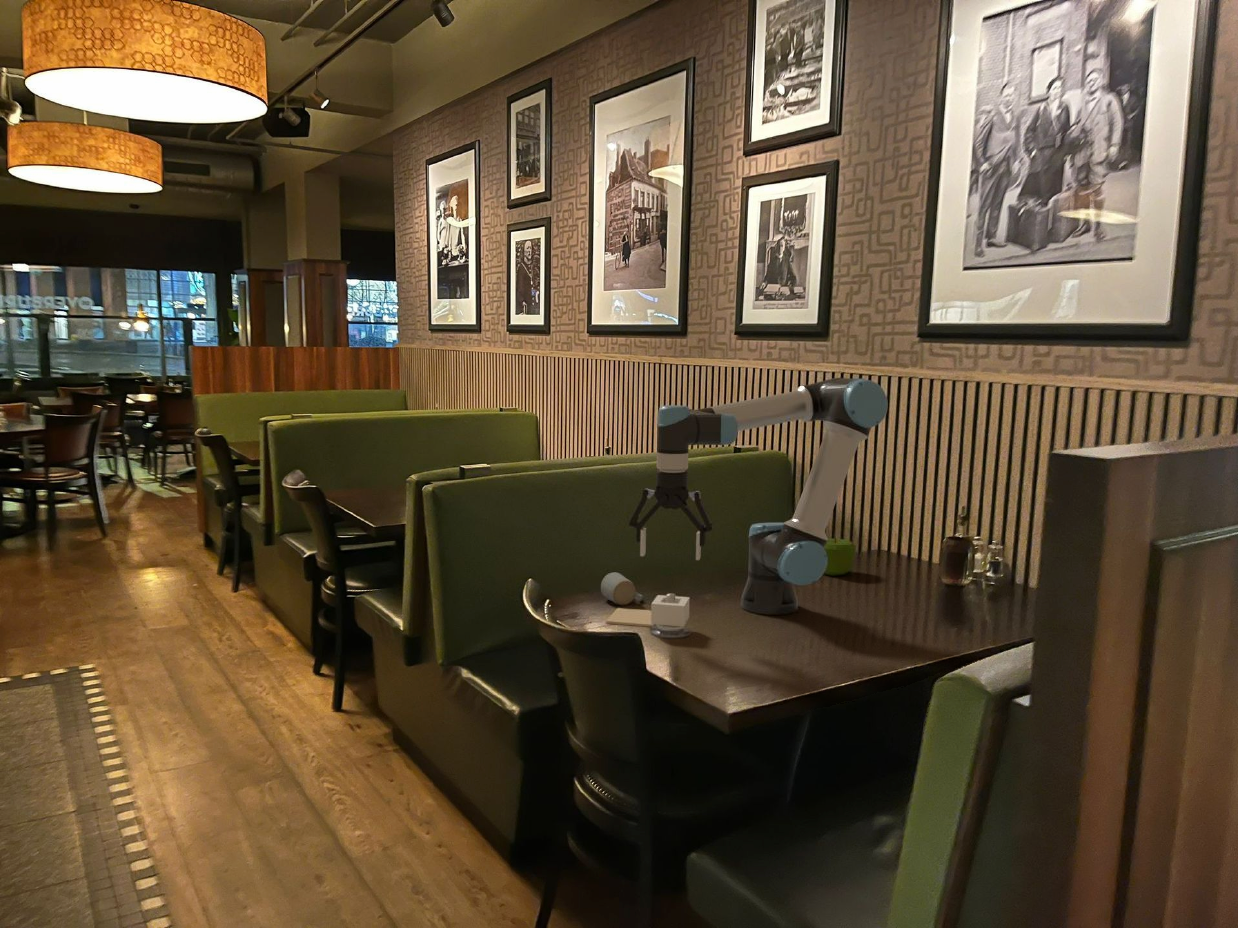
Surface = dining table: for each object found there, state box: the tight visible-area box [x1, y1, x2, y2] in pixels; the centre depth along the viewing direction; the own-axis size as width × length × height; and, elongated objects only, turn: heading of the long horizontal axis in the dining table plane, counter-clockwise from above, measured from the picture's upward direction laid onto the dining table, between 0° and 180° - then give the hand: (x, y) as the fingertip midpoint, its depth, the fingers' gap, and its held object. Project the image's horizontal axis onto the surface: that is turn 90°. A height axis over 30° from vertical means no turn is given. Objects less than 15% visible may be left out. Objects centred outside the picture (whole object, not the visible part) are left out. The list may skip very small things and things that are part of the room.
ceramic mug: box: [600, 571, 643, 606], centre depth 245 cm, size 11×8×8 cm
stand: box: [649, 592, 692, 640], centre depth 218 cm, size 10×10×10 cm
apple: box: [823, 537, 857, 577], centre depth 277 cm, size 12×12×11 cm
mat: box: [605, 607, 655, 628], centre depth 230 cm, size 12×12×1 cm
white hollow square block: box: [650, 594, 690, 626], centre depth 218 cm, size 8×8×5 cm
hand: (670, 557), depth 216 cm, fingers open, 13 cm apart
